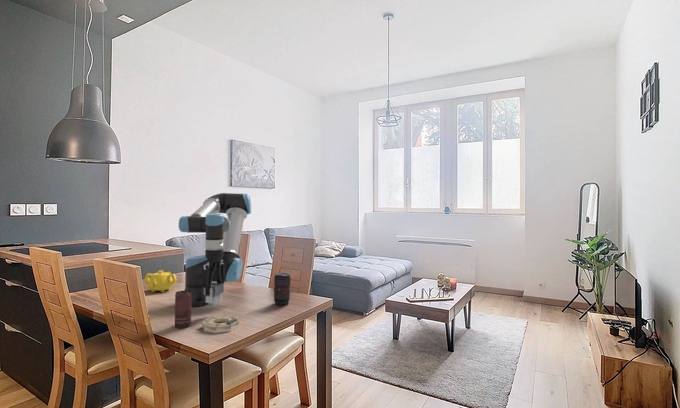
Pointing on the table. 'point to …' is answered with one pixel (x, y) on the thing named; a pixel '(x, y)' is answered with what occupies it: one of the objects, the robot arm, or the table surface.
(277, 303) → the camera lens
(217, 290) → the bushing
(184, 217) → the robot arm
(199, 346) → the table surface
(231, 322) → the ring
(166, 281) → the teapot
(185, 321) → the can
